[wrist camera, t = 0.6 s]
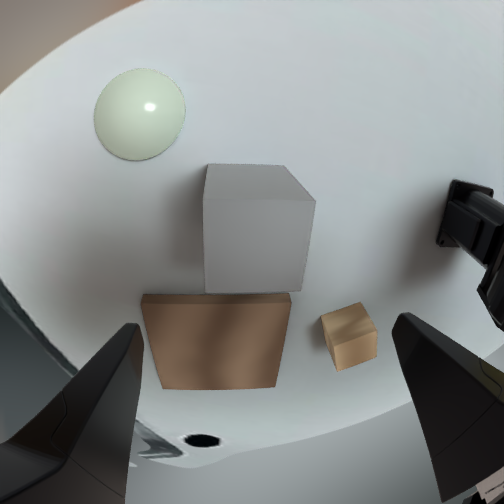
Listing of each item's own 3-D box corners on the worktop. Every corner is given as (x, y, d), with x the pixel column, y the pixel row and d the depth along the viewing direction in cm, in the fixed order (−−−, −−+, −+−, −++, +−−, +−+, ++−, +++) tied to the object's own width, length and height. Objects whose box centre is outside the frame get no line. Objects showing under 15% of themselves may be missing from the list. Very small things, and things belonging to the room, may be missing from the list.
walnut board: (288, 293, 24) (291, 302, 23) (273, 378, 30) (275, 387, 29) (143, 294, 23) (140, 303, 22) (163, 380, 29) (162, 388, 28)
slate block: (283, 165, 19) (315, 201, 13) (277, 232, 21) (301, 291, 15) (208, 163, 18) (202, 198, 12) (208, 232, 21) (205, 293, 15)
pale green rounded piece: (187, 66, 15) (186, 65, 14) (185, 155, 18) (183, 158, 17) (99, 75, 15) (93, 75, 14) (101, 160, 17) (96, 163, 17)
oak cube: (360, 301, 26) (377, 330, 22) (361, 328, 28) (376, 357, 24) (320, 315, 26) (333, 346, 23) (325, 341, 28) (337, 371, 25)
